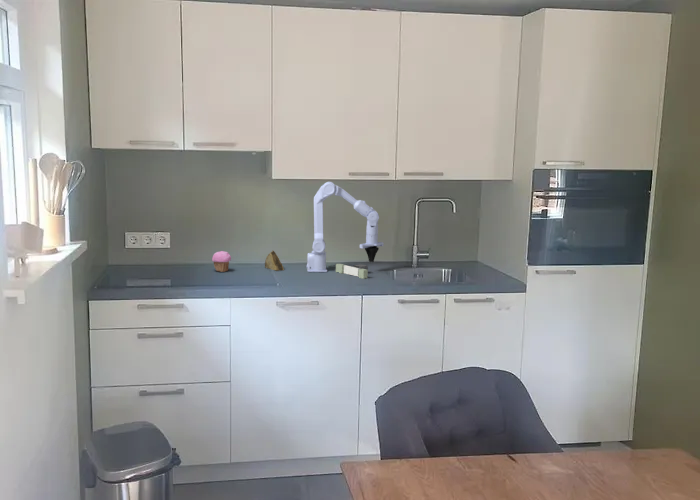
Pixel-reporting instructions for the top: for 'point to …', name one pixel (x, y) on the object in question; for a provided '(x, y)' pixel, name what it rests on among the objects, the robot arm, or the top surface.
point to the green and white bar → (362, 272)
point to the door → (351, 270)
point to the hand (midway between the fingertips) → (371, 261)
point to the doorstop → (361, 266)
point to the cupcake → (221, 261)
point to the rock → (273, 262)
